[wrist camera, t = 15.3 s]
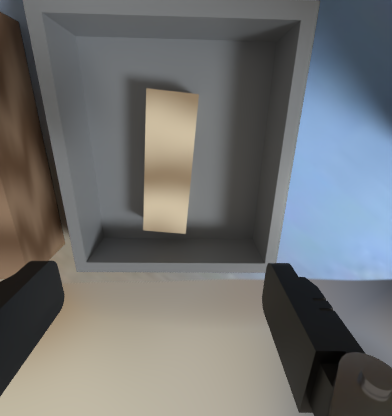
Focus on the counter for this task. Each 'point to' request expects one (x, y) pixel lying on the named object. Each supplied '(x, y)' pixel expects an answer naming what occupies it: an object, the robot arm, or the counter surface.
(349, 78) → the counter surface
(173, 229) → the maple bar
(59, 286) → the robot arm
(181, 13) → the charcoal tray
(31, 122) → the walnut pocket board
